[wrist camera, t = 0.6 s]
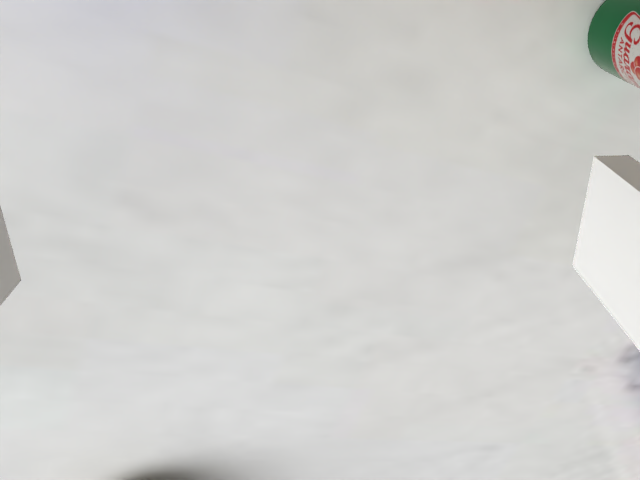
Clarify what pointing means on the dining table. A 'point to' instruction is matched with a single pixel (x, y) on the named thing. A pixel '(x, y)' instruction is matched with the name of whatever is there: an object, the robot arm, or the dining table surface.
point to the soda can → (617, 39)
